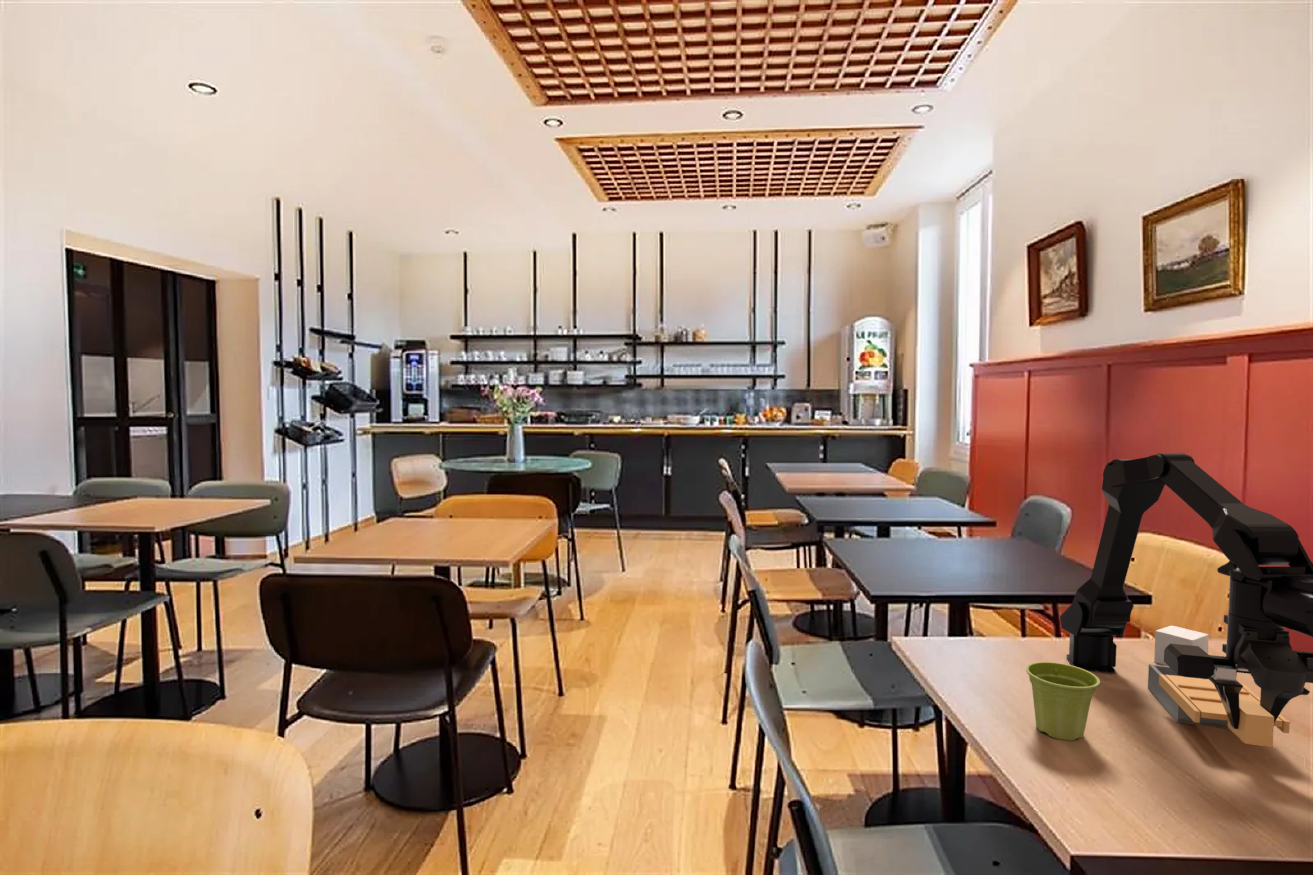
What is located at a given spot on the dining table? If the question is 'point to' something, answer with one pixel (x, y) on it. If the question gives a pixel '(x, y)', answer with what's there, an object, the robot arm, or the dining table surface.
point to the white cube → (1177, 640)
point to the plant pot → (1061, 698)
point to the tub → (1170, 703)
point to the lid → (1206, 702)
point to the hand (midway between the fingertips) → (1249, 729)
